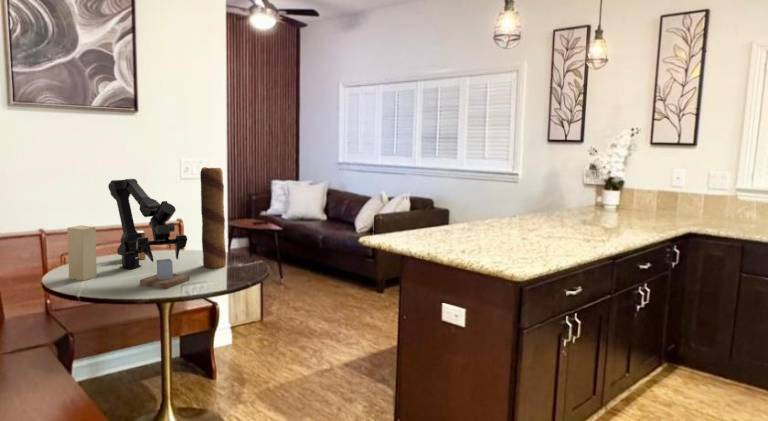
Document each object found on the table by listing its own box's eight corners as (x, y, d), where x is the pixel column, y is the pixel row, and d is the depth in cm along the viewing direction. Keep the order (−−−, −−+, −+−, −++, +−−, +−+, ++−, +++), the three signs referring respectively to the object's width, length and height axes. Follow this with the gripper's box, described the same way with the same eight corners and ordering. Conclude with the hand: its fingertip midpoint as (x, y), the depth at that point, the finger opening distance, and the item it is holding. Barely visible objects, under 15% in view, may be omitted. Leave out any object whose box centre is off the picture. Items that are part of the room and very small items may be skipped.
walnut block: (140, 284, 212) (139, 279, 211) (162, 277, 224) (162, 272, 224) (167, 288, 208) (167, 283, 208) (189, 280, 220) (189, 275, 220)
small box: (127, 261, 249) (126, 233, 248) (125, 258, 255) (124, 231, 253) (145, 259, 254) (145, 232, 252) (143, 256, 259) (142, 230, 257)
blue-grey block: (157, 277, 216) (156, 260, 215) (170, 275, 219) (169, 258, 218) (159, 280, 212) (158, 262, 211) (172, 278, 215) (172, 261, 214)
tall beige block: (99, 276, 221) (97, 226, 219) (83, 281, 215) (81, 229, 212) (84, 274, 224) (82, 224, 221) (68, 278, 217) (66, 227, 214)
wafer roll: (196, 267, 242) (194, 167, 236) (212, 262, 252) (211, 166, 246) (215, 270, 238) (214, 168, 232) (230, 265, 248) (229, 167, 242)
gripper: (136, 217, 211) (141, 250, 203) (185, 215, 221) (192, 246, 213) (133, 234, 218) (139, 266, 211) (181, 231, 228) (188, 262, 221)
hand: (165, 260), depth 213 cm, fingers open, 9 cm apart
